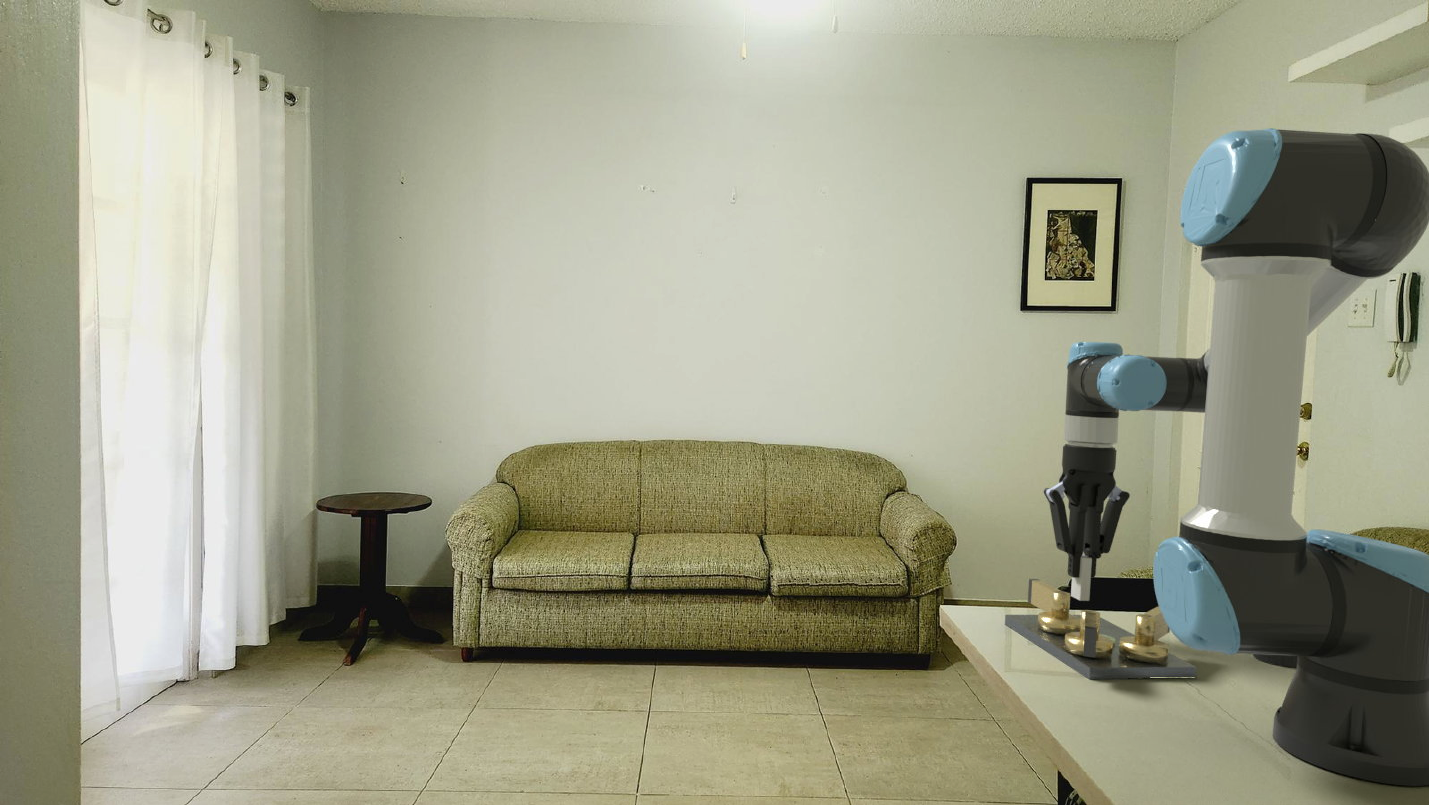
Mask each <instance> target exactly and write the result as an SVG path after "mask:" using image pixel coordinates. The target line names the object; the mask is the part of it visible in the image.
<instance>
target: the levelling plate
mask: <svg viewBox="0 0 1429 805" xmlns="http://www.w3.org/2000/svg"><path fill="white" fill-rule="evenodd" d="M1073 615H1074V616H1077V617H1079V618H1081V614H1073ZM1004 616H1005V617H1004V625H1005V626H1007V627H1008V628H1010V627H1011V628H1012V630H1013V631H1014V630H1015V633H1017V632H1018V633H1017V634H1019V635H1021V636H1022V637H1024V638H1025V639H1027V640H1028V641H1030V642H1032V643H1033V644H1034V645H1036V646H1037V647H1039V648H1041V649H1042V650H1044V651H1045V652H1047V653H1048V654H1050V655H1052V656H1053V657H1055V658H1056V659H1058V661H1061V662H1062V663H1064V664H1065V665H1067V666H1068V667H1070V668H1071V669H1072V670H1074V671H1076V672H1078V673H1080V674H1081V675H1082V676H1084V677H1085V678H1087V679H1088V680H1132V679H1131V678H1150V677H1196V678H1197V669H1198V667H1197V666H1196V665H1193V664H1192V663H1190V662H1187V661H1186V660H1184V659H1182V658H1179V657H1178V656H1176V655H1175V654H1172V653H1171V652H1169V654H1168V660H1167V661H1165V662H1145V661H1139V660H1135V659H1131V658H1128V657H1126V656H1123V655H1122V654H1120V653H1119V643H1120V638H1122V637H1128V636H1135V633H1132V632H1129V631H1128V630H1125V629H1124V628H1122V627H1120V626H1118V625H1116V624H1114V623H1112V622H1110V621H1108V620H1107V619H1104V618H1102V617H1101V616H1100V624H1099V635H1101V636H1104V637H1107V638H1109V639H1111V640H1112V641H1113V649H1112V655H1111V656H1110V657H1104V658H1094V657H1087V656H1082V655H1078V654H1074V653H1072V652H1069V651H1068V650H1066V649H1065V647H1064V646H1065V635H1066V634H1058V633H1052V632H1048V631H1045V630H1042V629H1040V628H1039V627H1038V614H1005V615H1004ZM1011 628H1010V629H1011ZM1128 678H1130V679H1128Z"/></svg>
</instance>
